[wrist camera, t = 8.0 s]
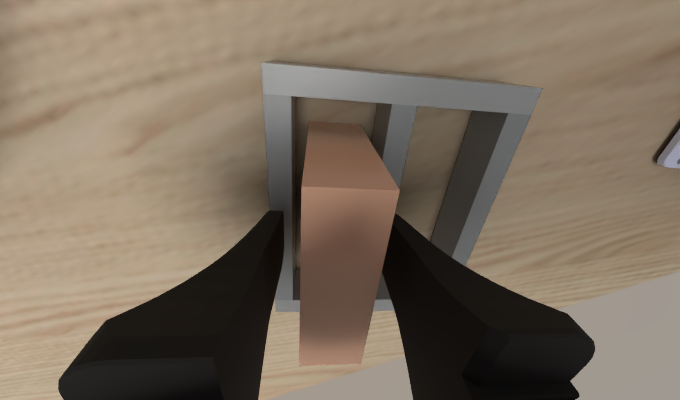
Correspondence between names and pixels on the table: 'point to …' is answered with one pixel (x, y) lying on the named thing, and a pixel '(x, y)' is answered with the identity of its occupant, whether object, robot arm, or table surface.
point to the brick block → (341, 241)
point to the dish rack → (396, 146)
